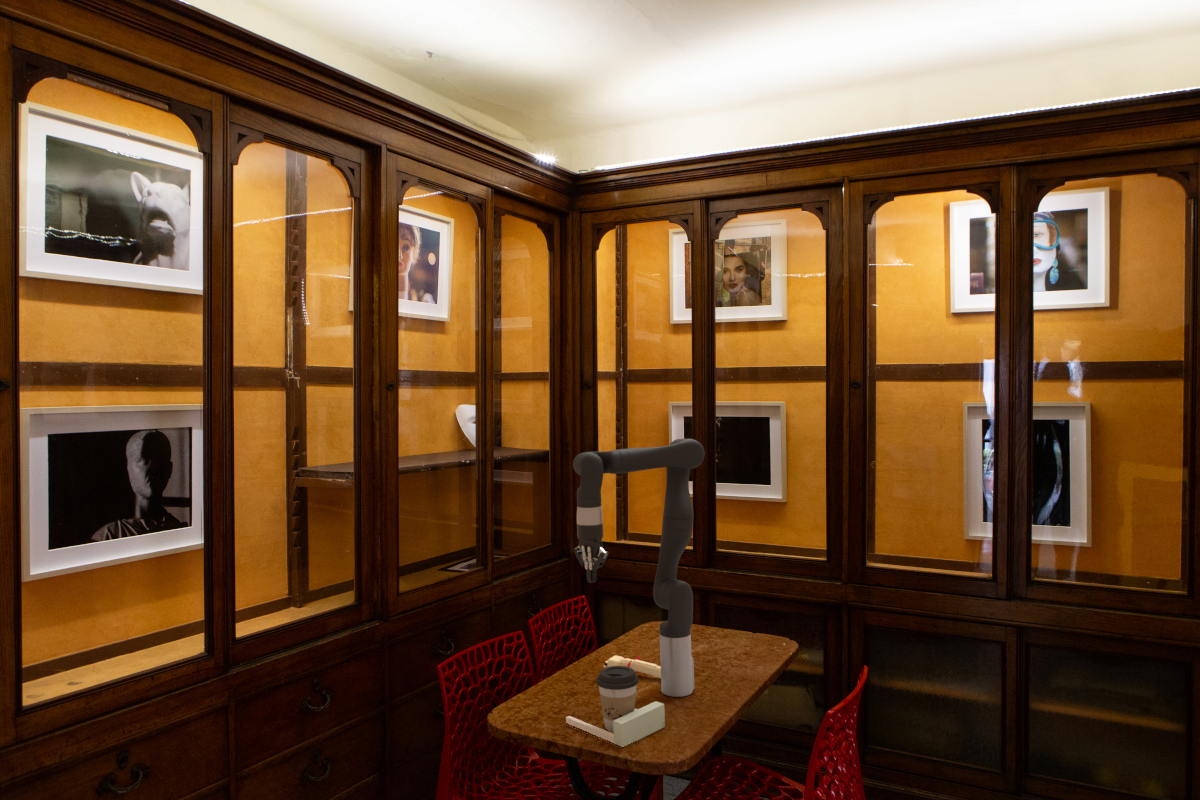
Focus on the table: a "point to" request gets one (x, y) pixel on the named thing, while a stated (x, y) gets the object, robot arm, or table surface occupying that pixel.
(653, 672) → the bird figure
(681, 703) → the table surface
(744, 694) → the table surface
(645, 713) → the guide track
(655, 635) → the table surface
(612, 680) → the coffee cup
